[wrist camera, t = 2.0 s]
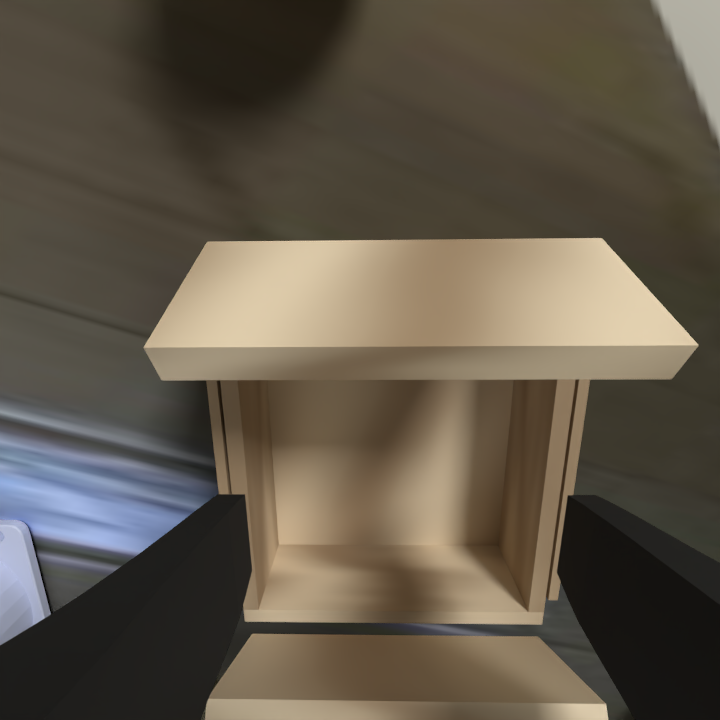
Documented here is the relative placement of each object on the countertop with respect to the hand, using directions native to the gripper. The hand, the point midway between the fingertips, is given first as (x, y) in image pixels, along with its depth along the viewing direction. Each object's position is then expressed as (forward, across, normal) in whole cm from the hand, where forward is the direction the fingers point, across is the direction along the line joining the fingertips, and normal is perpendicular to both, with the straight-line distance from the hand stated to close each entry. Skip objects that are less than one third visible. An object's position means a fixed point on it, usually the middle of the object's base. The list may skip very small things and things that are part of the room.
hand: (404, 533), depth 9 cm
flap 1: (+1, 0, -5) cm, 5 cm away
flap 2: (+1, 0, +5) cm, 5 cm away
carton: (+6, 0, 0) cm, 7 cm away
